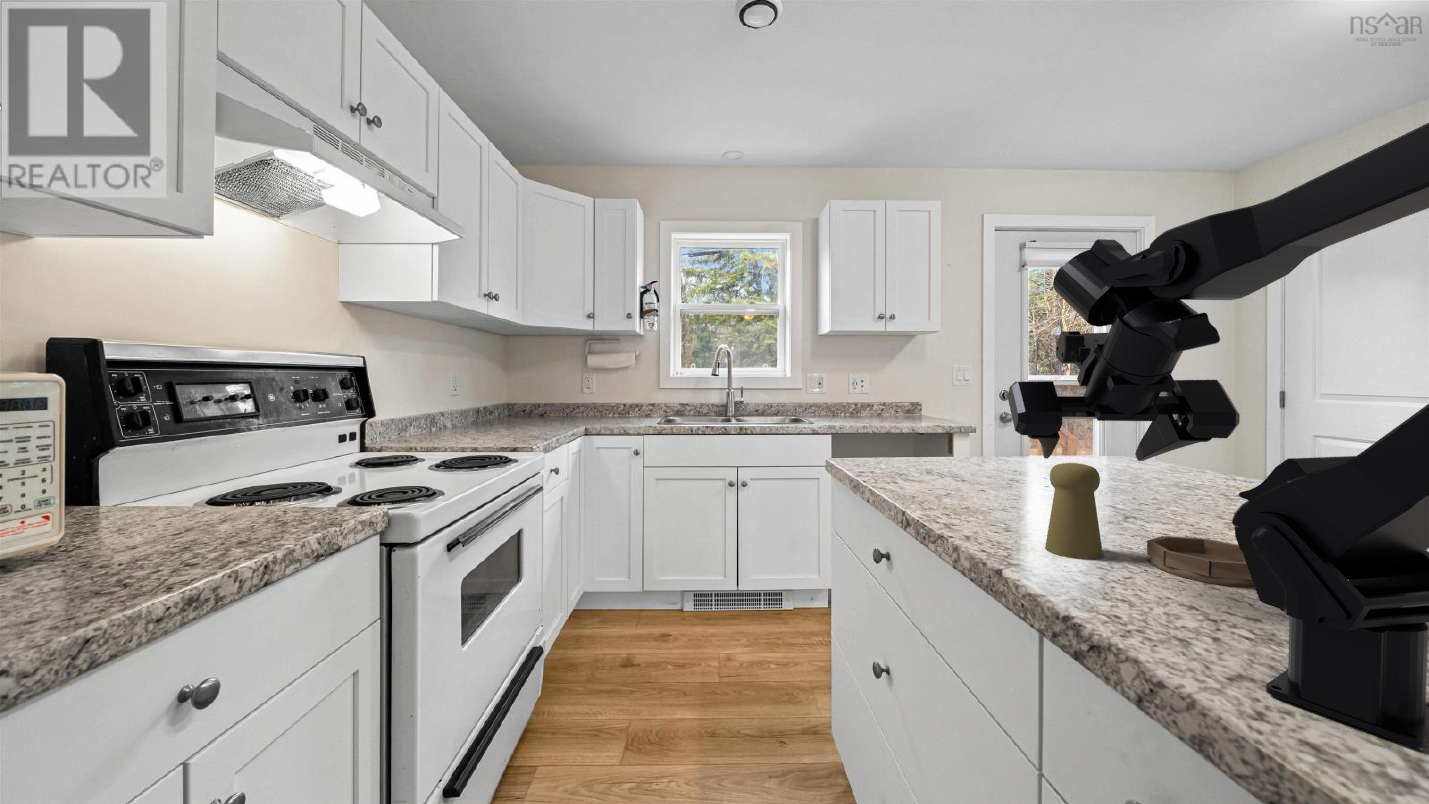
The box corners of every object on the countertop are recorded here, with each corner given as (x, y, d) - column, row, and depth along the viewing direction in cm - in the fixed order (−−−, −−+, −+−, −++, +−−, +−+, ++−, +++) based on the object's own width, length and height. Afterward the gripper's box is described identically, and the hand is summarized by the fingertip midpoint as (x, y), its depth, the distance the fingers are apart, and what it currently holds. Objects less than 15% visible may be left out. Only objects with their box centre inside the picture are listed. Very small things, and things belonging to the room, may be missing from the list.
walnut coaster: (1247, 593, 53) (1247, 569, 53) (1134, 565, 61) (1134, 544, 61) (1283, 576, 57) (1284, 554, 57) (1173, 551, 66) (1173, 532, 66)
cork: (1084, 544, 69) (1085, 460, 69) (1114, 560, 63) (1116, 467, 63) (1035, 543, 70) (1036, 460, 69) (1061, 559, 64) (1062, 467, 63)
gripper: (1224, 297, 52) (1163, 404, 63) (1012, 307, 58) (990, 404, 69) (1280, 377, 45) (1200, 482, 56) (1032, 379, 51) (1004, 475, 62)
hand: (1090, 456), depth 61 cm, fingers open, 9 cm apart
